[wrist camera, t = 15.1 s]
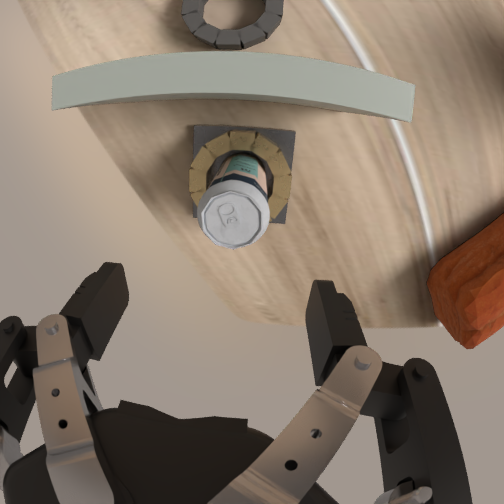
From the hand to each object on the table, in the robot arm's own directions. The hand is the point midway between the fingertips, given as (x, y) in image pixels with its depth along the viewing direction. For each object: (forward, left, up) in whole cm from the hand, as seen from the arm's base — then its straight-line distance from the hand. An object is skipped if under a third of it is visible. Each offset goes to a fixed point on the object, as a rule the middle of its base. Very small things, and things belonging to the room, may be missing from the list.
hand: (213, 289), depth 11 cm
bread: (+7, +41, -21) cm, 46 cm away
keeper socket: (0, 0, -20) cm, 20 cm away
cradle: (-18, -2, -20) cm, 27 cm away
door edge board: (-9, -1, -20) cm, 22 cm away
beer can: (0, 0, -19) cm, 19 cm away
